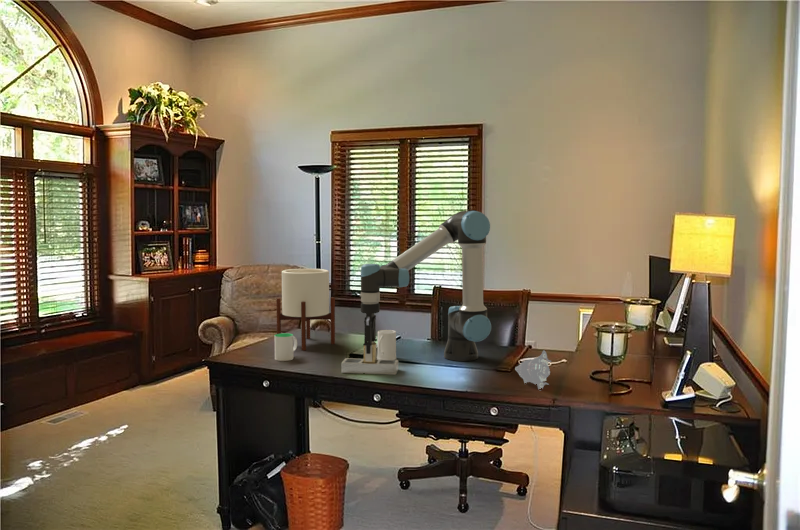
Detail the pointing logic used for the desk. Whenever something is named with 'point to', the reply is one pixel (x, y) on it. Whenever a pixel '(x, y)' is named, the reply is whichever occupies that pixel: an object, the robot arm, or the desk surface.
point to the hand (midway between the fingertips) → (370, 359)
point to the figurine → (535, 370)
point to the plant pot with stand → (305, 300)
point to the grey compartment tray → (369, 366)
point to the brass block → (372, 353)
